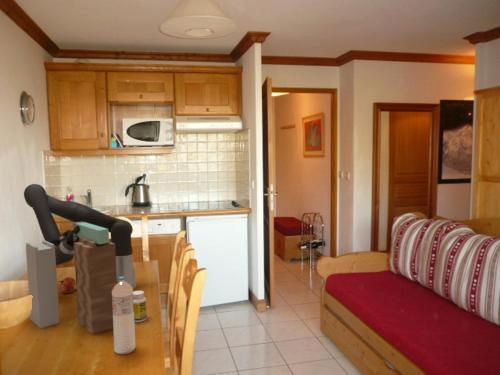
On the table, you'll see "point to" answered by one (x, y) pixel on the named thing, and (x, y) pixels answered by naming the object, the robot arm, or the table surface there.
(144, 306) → the pill bottle
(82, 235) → the teal bar
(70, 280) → the pomegranate
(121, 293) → the water bottle
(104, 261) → the walnut stand
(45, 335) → the table surface
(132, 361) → the table surface
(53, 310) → the grey stand
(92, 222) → the robot arm
